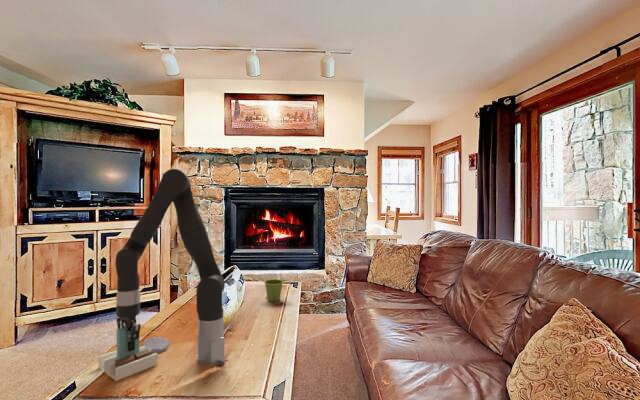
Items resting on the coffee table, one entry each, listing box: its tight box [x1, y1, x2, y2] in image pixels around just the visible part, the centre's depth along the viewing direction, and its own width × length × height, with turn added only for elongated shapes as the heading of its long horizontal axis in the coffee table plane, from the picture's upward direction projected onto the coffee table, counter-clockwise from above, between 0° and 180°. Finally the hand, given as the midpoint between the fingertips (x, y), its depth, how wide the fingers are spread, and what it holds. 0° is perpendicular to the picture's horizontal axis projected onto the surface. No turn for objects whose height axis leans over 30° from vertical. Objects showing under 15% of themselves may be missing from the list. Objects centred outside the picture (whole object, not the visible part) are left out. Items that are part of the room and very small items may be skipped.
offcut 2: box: [134, 349, 153, 361], centre depth 123 cm, size 3×5×5 cm, turn 143°
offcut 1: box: [115, 355, 135, 368], centre depth 119 cm, size 3×5×5 cm, turn 143°
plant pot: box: [263, 278, 285, 303], centre depth 207 cm, size 12×12×11 cm
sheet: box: [116, 328, 140, 360], centre depth 124 cm, size 2×7×14 cm, turn 143°
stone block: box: [142, 336, 170, 354], centre depth 139 cm, size 12×5×10 cm
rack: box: [98, 342, 158, 382], centre depth 124 cm, size 14×14×6 cm
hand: (128, 348), depth 124 cm, fingers open, 4 cm apart
